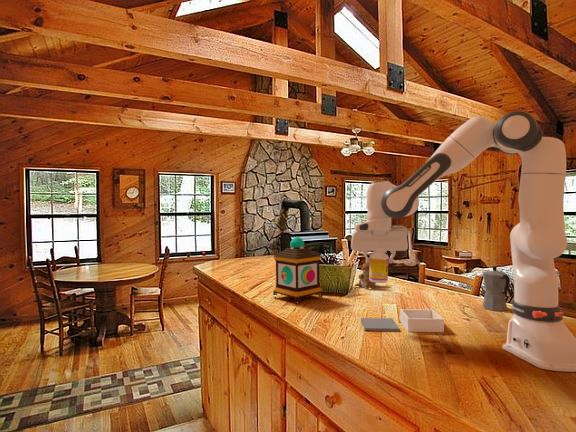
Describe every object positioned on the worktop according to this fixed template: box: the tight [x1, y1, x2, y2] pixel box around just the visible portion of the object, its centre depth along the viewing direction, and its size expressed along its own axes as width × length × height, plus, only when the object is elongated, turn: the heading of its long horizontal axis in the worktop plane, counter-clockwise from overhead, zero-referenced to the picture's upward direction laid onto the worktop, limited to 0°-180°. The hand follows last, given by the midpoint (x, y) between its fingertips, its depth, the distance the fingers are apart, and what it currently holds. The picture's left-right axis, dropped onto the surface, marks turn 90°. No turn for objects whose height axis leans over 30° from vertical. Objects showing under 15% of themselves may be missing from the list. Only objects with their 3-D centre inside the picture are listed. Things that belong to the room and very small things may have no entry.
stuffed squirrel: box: [354, 262, 377, 289], centre depth 202 cm, size 10×14×13 cm
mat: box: [360, 317, 401, 332], centre depth 135 cm, size 12×12×1 cm
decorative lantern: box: [272, 236, 324, 303], centre depth 178 cm, size 20×20×30 cm
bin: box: [399, 308, 445, 333], centre depth 134 cm, size 12×12×4 cm
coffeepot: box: [482, 266, 511, 312], centre depth 155 cm, size 15×9×18 cm, turn 6°
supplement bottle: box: [369, 248, 389, 284], centre depth 135 cm, size 7×7×13 cm
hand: (379, 262), depth 134 cm, fingers closed on supplement bottle, 7 cm apart
